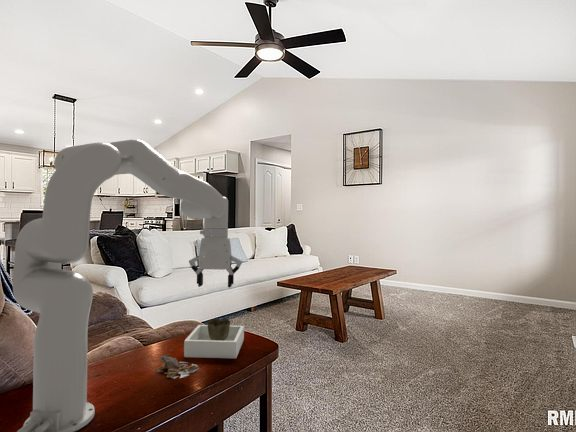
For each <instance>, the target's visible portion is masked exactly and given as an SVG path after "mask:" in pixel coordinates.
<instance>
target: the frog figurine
mask: <svg viewBox="0 0 576 432" xmlns="http://www.w3.org/2000/svg"><path fill="white" fill-rule="evenodd" d="M161 362H162V365H161V366H159V367H158V368H157V370H156V372H158V373H163V372H164V373H165V374H166V378H171V379H173V380H174V379H177V378H178V377H179V379H182V378H186V377H188V376H190V374H191V373H195V372H196V371H198V370H199V369H200V366H198V365H197V364H194V363H191V365H190V366H188V364H190V362H188V361H178V359H177V357H171V356H170V354H165V355H161V357H160V363H161ZM164 368H166V369H167V372H165V369H164ZM177 374H178V375H177ZM179 374H180V376H179Z"/></svg>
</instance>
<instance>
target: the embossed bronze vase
mask: <svg viewBox="0 0 576 432" xmlns="http://www.w3.org/2000/svg"><path fill="white" fill-rule="evenodd" d="M206 325H208V334H209V337H210V339H211V340H220V341H224V340H226V339H227V337H228V334H229V328H230V326H231V320H230V319H229V318H224V317H223V318H222V319H220V318H219V317H218V318H217V317H214V318H213V319H212V318H210V320H209V319H208V320H207V322H206Z"/></svg>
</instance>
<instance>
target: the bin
mask: <svg viewBox="0 0 576 432" xmlns="http://www.w3.org/2000/svg"><path fill="white" fill-rule="evenodd" d="M244 340H245V325H230V328H229V334H228V337H227V339H226V340H224V341H220V340H211V339H210V337H209V334H208V324H198V325H197V326H196V327H195V328H194V329H193V330H192V331H191V333H190V334H189V335H188V336H187V337H186V338H185V340H184V341H183V342H184V343H183V358H199V359H200V358H201V359H202V358H203V359H204V358H206V359H237V357H238V355H239V353H240V350H241V348H242V345H243V343H244Z"/></svg>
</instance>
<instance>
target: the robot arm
mask: <svg viewBox="0 0 576 432" xmlns="http://www.w3.org/2000/svg"><path fill="white" fill-rule="evenodd" d="M54 169H55V171H54V172H53V174H52V175H51V177H50V179H49V180H48V183H47V185H46V188H45V189H46V190H45V193H44V201H43V202H44V203H43V211H42V217H39V218H36V219H33V220H31V221H29V222H27V223H26V224H25V225H24V226H23V227H22V228H21V229H20V231H19V233H18V234H17V238H16V241H15V247H14V259H13V260H14V261H13V272H12V273H13V275H12V293H13V297H14V299H15V301H16V303H17V304H18V305H19V306H20V307H22V308H23V309H26V310H28V311H30V312H31V311H32V312H36V313H38V314H39V319H38V322H37V325H36V327H35V331H34V336H33V348H32V350H33V366H32V368H33V369H32V370H33V371H32V372H33V374H32V377H33V379H32V386H33V387H32V411H30V413H29V414H30V415H29V417H28V418H27V419H26V420H25V421H24V423H23V425H22V427H21V428H19V429H18V430H17V431H16V432H77V431H79V430H81V429H82V428H84V427H85V426H87V425H88V424H89V423H90V422H91V421H92V420H93V418H94V417H95V414H96V413H95V409H96V408H95V406H94V405H93V404H92V403H90V402H89V401H88V399H87V398H88V396H87V395H88V393H87V392H88V336H89V335H88V332H89V331H88V328H89V319H90V318H89V317H90V312H91V307H92V303H93V299H94V290H93V285H92V284H91V282H90V280H89V279H88V278H87V277H86V276H85V275H83V274H81V273H79V272H77V271H73V270H70V269H62V265H63V264H74V263H77V262H79V261H81V260H82V259H83V258H84V257H85V256H86V253H88V248H89V244H90V227H91V226H90V225H91V210H92V203H93V202H92V201H93V198H94V196H95V193H96V191H97V190H98V189H99V187H100V186H101V185H103V183H104V182H106V181H107V180H109V179H111V178H113V177H115V176H116V175H127V174H130V175H132V176H134V177H135V178H137V179H138V180H140V181H141V182H142V183H144V184H145V185H147V186H148V187H149V188H151V189H152V190H154V191H155V192H156V193H158V194H159V195H161V196H165V197H167V198H171V199H172V198H173V199H175V200H176V199H177V200H181V202H180V211H181V212H182V214H183V215H184V216H185V217H187V218H190V219H204V223H203V224H204V228H203V229H202V230H201V229H200V231H199V235H202V236H203V237H202V238H201V240H200V245H199V250H198V255H197V256H194V258H191V259H189V260H188V263H189V265H190V268H191V270H193V272H194V273H195V274H196V284H197V285H198V287H199V288H200V287H202V286H204V285H203V284H204V273H203V271H204V270H223V271H224V270H226V271H227V273H228V275H227V288H232V285H234V279H235V277H234V275H235V273H236V272H237V271H239V269H240V268H241V266H242V264H243V261H242V260H241V259H239V258H237V257H235V256H233V255H232V246H231V239H230V238H229V237H228V235H229V234H228V233H229V232H228V230H229V227H228V225H229V224H228V223H229V200H228V197H226V196H223V194H221V193H220V192H219V191H218V190H217V189H216V188H215V187H214V186H213V185H211V184H209V183H208V182H207V181H204V180H203V179H200V178H199V177H196V176H194V175H192V174H189V173H187V172H185V171H182V170H180V169H178V168H177V167H176V166H175V165H173V164H172V163H171V162H170V161H169V160H168V159H166V158H165V157H164V156H163V155H162V154H161V153H160V152H158V151H157V150H156V149H154V147H152V146H151V145H150V144H149V143H147V142H146V141H144V140H143V139H141V140H140V139H134V138H133V139H127V140H120V141H118V140H117V141H112V142H108V143H107V142H93V143H85V144H81V145H72V146H68V147H65V148H62V149H61V150H60V151H59V152H58V153H57V154H56V156H55V157H54ZM197 261H198V266H197V265H196V262H197ZM232 262H234V263H236V264H235V267H234V268H233V267H232Z"/></svg>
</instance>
